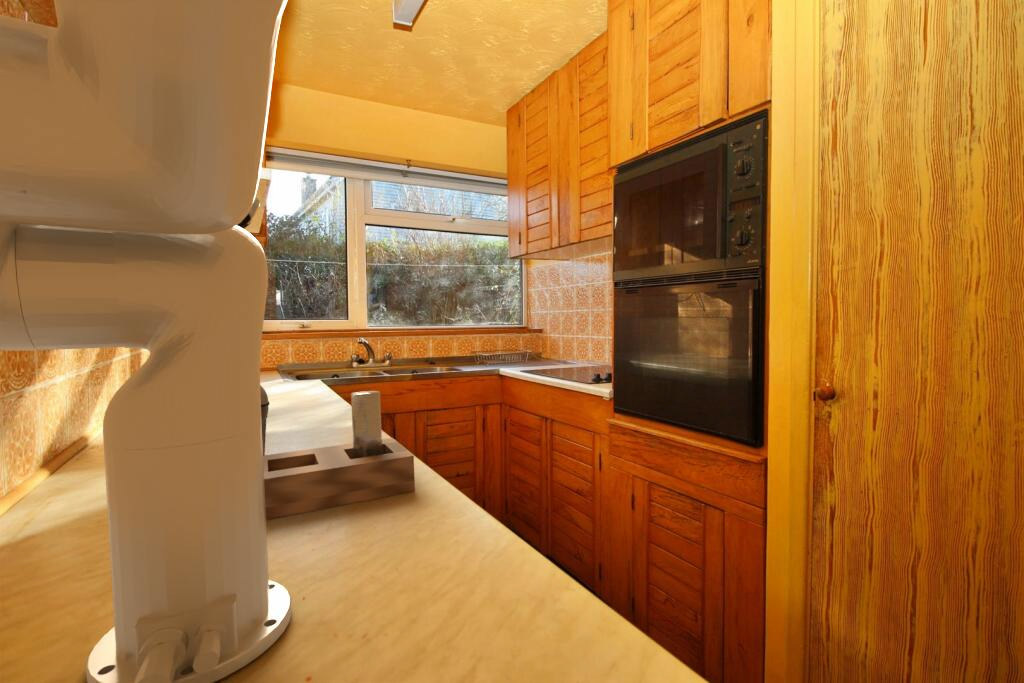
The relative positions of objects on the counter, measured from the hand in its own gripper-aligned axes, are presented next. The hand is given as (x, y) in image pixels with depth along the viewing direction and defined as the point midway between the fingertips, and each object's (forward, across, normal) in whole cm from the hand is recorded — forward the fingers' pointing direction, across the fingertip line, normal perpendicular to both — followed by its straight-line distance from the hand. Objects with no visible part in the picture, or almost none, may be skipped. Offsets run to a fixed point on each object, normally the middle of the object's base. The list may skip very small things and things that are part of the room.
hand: (174, 269), depth 52 cm
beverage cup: (+30, -5, -18) cm, 35 cm away
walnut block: (+30, -16, -6) cm, 35 cm away
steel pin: (+28, -21, -7) cm, 36 cm away
